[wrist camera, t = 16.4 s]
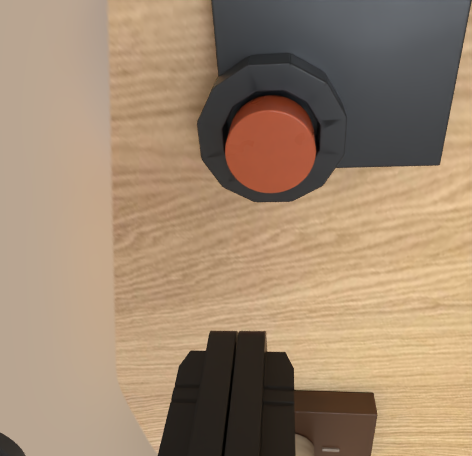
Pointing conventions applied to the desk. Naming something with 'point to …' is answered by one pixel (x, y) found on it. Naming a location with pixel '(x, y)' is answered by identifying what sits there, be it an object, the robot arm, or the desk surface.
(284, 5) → the button box
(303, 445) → the dial
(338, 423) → the dial panel
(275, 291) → the desk surface
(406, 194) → the desk surface
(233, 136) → the button
